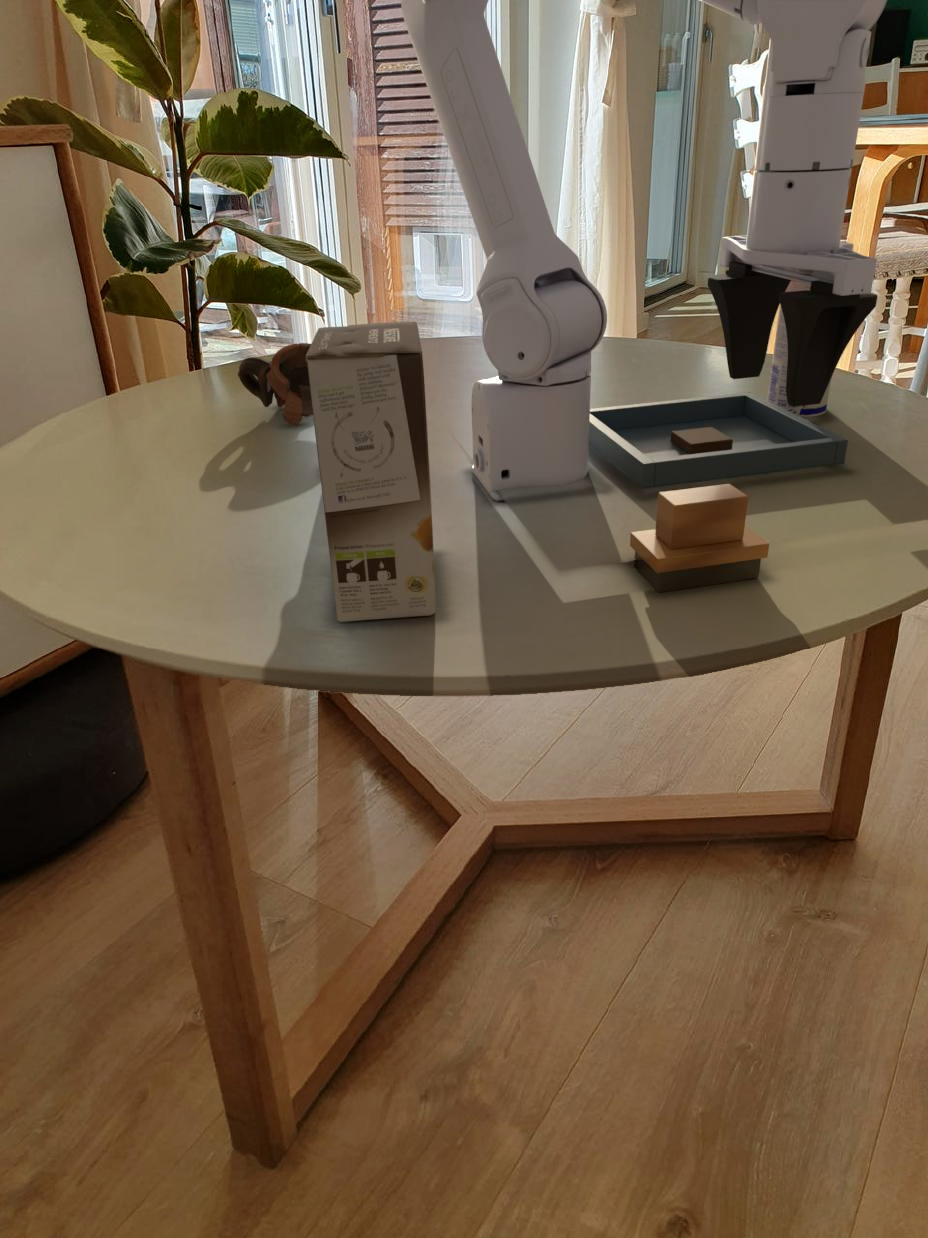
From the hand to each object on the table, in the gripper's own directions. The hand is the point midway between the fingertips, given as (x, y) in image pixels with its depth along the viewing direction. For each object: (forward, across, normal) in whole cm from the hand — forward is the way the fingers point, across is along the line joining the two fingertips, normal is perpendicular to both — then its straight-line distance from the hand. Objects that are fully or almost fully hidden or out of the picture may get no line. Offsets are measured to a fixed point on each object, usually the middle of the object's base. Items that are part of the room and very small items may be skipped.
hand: (772, 389), depth 61 cm
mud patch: (+9, +15, -3) cm, 17 cm away
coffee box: (+10, -2, +28) cm, 30 cm away
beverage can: (+10, +22, -17) cm, 29 cm away
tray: (+10, +15, -3) cm, 18 cm away
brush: (+10, -7, +8) cm, 14 cm away
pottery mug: (+10, +42, +31) cm, 53 cm away
